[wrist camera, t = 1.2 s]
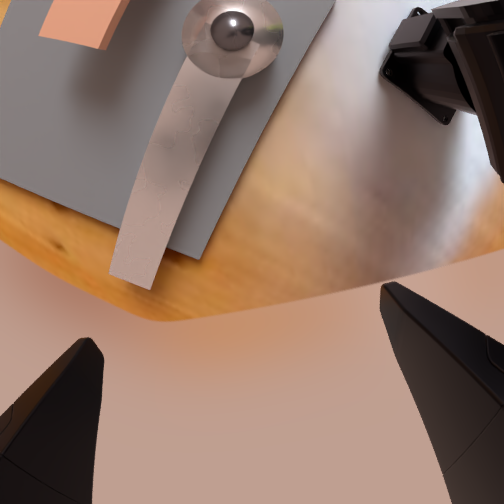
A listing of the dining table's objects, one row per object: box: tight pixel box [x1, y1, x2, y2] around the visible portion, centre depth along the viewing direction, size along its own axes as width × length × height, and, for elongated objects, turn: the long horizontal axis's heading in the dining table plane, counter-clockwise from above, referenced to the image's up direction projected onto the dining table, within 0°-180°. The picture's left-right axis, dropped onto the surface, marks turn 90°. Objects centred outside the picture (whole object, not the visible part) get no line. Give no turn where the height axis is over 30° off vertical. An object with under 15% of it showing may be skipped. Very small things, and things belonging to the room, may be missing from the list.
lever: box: [109, 0, 284, 290], centre depth 16 cm, size 18×5×3 cm, turn 154°
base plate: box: [0, 0, 336, 260], centre depth 15 cm, size 21×20×1 cm
